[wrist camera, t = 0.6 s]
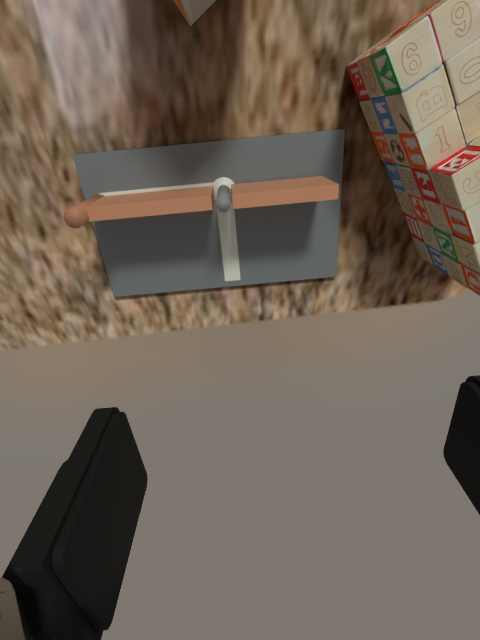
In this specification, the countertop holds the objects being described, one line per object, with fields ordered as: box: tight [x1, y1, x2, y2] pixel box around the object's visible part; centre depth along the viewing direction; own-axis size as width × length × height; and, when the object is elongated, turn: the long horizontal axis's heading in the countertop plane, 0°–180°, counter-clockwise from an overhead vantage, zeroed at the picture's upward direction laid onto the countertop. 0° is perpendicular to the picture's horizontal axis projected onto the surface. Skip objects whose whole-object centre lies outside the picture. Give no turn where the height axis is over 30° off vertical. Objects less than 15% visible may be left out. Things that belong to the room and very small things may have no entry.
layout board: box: [73, 129, 345, 297], centre depth 36 cm, size 26×15×1 cm, turn 95°
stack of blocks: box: [346, 0, 480, 295], centre depth 29 cm, size 21×6×12 cm, turn 33°
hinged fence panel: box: [216, 176, 339, 212], centre depth 31 cm, size 10×1×7 cm, turn 95°
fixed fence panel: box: [64, 186, 215, 228], centre depth 31 cm, size 12×2×7 cm, turn 95°
